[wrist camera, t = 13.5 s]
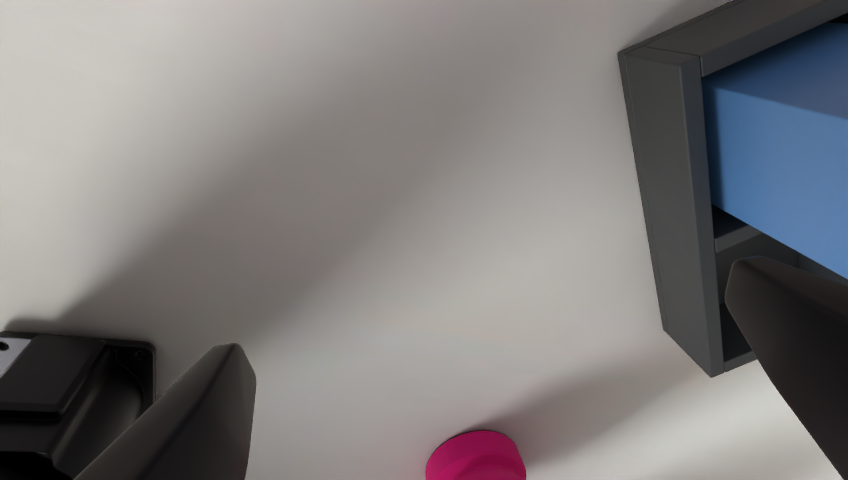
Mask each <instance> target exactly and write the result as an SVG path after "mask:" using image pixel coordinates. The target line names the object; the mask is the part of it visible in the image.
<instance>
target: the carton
mask: <svg viewBox="0 0 848 480" xmlns="http://www.w3.org/2000/svg"><path fill="white" fill-rule="evenodd" d="M701 81H702V94H703V106H704V119H705V132H706V144H707V157H708V170H709V182H710V195H711V204H713V205H715V206H716V207H718V208H720V209H722V210H724V211H725V212H727V213H729V214H731V215H733V216H734V217H736V218H738V219H740V220H742V221H743V222H745V223H747V224H749V225H751V226H752V227H754V228H756V229H758V230H760V231H762V232H763V233H765V234H767V235H769V236H771V237H772V238H774V239H776V240H778V241H780V242H781V243H783V244H785V245H787V246H789V247H790V248H792V249H794V250H796V251H798V252H799V253H801V254H803V255H805V256H807V257H808V258H810V259H812V260H814V261H816V262H817V263H819V264H821V265H823V266H825V267H826V268H828V269H830V270H832V271H834V272H835V273H837V274H839V275H841V276H843V277H844V278H846V279H848V24H844V23H824V24H821V25H819V26H817V27H815V28H812V29H810V30H808V31H806V32H803V33H801V34H799V35H797V36H794V37H792V38H790V39H788V40H785V41H783V42H781V43H779V44H776V45H774V46H772V47H769V48H767V49H765V50H763V51H760V52H758V53H756V54H754V55H751V56H749V57H747V58H745V59H742V60H740V61H738V62H736V63H733V64H731V65H729V66H727V67H724V68H722V69H720V70H718V71H715V72H713V73H711V74H709V75H706V76H704V77H701Z"/></svg>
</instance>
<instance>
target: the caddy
mask: <svg viewBox="0 0 848 480" xmlns="http://www.w3.org/2000/svg"><path fill="white" fill-rule="evenodd" d="M824 23H844V24H848V0H734V1H731V2H729V3H727V4H725V5H723V6H720V7H718V8H716V9H714V10H711V11H709V12H707V13H705V14H703V15H700V16H698V17H696V18H694V19H691V20H689V21H687V22H685V23H682V24H680V25H678V26H676V27H674V28H671V29H669V30H667V31H665V32H662V33H660V34H658V35H656V36H653V37H651V38H649V39H647V40H645V41H642V42H640V43H638V44H636V45H633V46H631V47H629V48H627V49H624V50H622V51H620V52H618V54H617V55H618V61H619V67H620V73H621V79H622V85H623V91H624V97H625V103H626V109H627V115H628V121H629V127H630V133H631V139H632V145H633V151H634V157H635V163H636V169H637V175H638V181H639V187H640V193H641V199H642V205H643V211H644V217H645V223H646V229H647V235H648V241H649V247H650V253H651V259H652V265H653V271H654V277H655V283H656V289H657V295H658V301H659V307H660V313H661V319H662V325H663V330H664V331H665V332H666V333H667V334H668V335H670V337H671V338H672V339H673V340H674V341H675V342H676V343H677V344H678V345H679V346H680V347H681V348H682V349H683V350H684V351H685V352H686V353H687V354H688V355H689V356H690V357H691V358H692V359H693V360H694V361H695V362H696V363H697V364H698V365H699V366H700V367H701V368H702V369H703V370H704V371H705V372H706V373H707V374H708V375H709V376H710V377H711V378H712V377H715V376H717V375H720V374H722V373H724V371H725V372H727V371H730V370H732V369H735V368H737V367H739V366H742V365H744V364H747V363H749V362H751V361H754V360H756V359H757V357H756V356H755V354H754V352H753V350H752V349H751V347H750V345H749V344H748V342H747V340H746V339H745V337H744V335H743V334H742V332H741V330H740V328H739V327H738V325H737V323H736V322H735V320H734V318H733V317H732V315H731V313H730V312H729V310H728V308H727V306H726V303H725V291H726V287H727V283H728V279H729V275H730V270H731V266H732V264H733V263H734V261H735V260H737V259H740V258H745V257H751V256H765V257H768V258H770V259H773V260H776V261H779V262H782V263H785V264H787V265H790V266H793V267H796V268H799V269H802V270H805V271H807V272H810V273H813V274H816V275H819V276H822V277H825V278H827V279H830V280H833V281H836V282H839V283H842V284H844V285H847V286H848V279H846V278H844V277H843V276H841V275H839V274H837V273H835V272H834V271H832V270H830V269H828V268H826V267H825V266H823V265H821V264H819V263H817V262H816V261H814V260H812V259H810V258H808V257H807V256H805V255H803V254H801V253H799V252H798V251H796V250H794V249H792V248H790V247H789V246H787V245H785V244H783V243H781V242H780V241H778V240H776V239H774V238H772V237H771V236H769V235H767V234H765V233H763V232H762V231H760V230H758V229H756V228H754V227H752V226H751V225H749V224H747V223H745V222H743V221H742V220H740V219H738V218H736V217H734V216H733V215H731V214H729V213H727V212H725V211H724V210H722V209H720V208H718V207H716V206H715V205H713V204H711V195H710V182H709V170H708V157H707V144H706V132H705V119H704V106H703V94H702V81H701V77H704V76H706V75H709V74H711V73H713V72H715V71H718V70H720V69H722V68H724V67H727V66H729V65H731V64H733V63H736V62H738V61H740V60H742V59H745V58H747V57H749V56H751V55H754V54H756V53H758V52H760V51H763V50H765V49H767V48H769V47H772V46H774V45H776V44H779V43H781V42H783V41H785V40H788V39H790V38H792V37H794V36H797V35H799V34H801V33H803V32H806V31H808V30H810V29H812V28H815V27H817V26H819V25H821V24H824Z"/></svg>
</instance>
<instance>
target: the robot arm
mask: <svg viewBox="0 0 848 480" xmlns="http://www.w3.org/2000/svg"><path fill="white" fill-rule="evenodd" d="M725 303H726V306H727V308H728V310H729V312H730V313H731V315H732V317H733V318H734V320H735V322H736V323H737V325H738V327H739V328H740V330H741V332H742V334H743V335H744V337H745V339H746V340H747V342H748V344H749V345H750V347H751V349H752V350H753V352H754V354H755V356H756V357H757V359H758V361H759V362H760V364H761V366H762V367H763V369H764V371H765V372H766V374H767V375H768V377H769V378H770V380H771V382H772V383H773V384H774V386H775V387H776V389H777V390H778V392H779V393H780V394H781V396H782V397H783V398H784V400H785V401H786V402H787V404H788V405H789V406H790V408H791V409H792V411H793V412H794V413H795V415H796V416H797V417H798V419H799V420H800V421H801V423H802V424H803V425H804V427H805V428H806V429H807V431H808V432H809V433H810V435H811V436H812V438H813V439H814V440H815V442H816V443H817V444H818V446H819V447H820V448H821V450H822V451H823V452H824V454H825V455H826V456H827V458H828V459H829V460H830V462H831V463H832V465H833V466H834V467H835V469H836V470H837V471H838V473H839V474H840V475H841V477H842V478H843V479H844V480H848V286H847V285H844V284H842V283H839V282H836V281H833V280H830V279H827V278H825V277H822V276H819V275H816V274H813V273H810V272H807V271H805V270H802V269H799V268H796V267H793V266H790V265H787V264H785V263H782V262H779V261H776V260H773V259H770V258H768V257H765V256H751V257H745V258H740V259H737V260H735V261H734V263H733V264H732V266H731V270H730V275H729V279H728V283H727V287H726V291H725ZM3 342H5V343H7V344H8V345H7V344H4V343H3ZM139 351H142V352H145V353H146V354H142V353H140V352H139ZM255 393H256V376H255V373H254V370H253V368H252V367H251V365H250V363H249V361H248V359H247V357H246V355H245V353H244V351H243V349H242V348H241V346H240V345H239V344H237V343H230V344H224V345H218V346H215V347H213V348H212V349H211V350H210V351H209V352H208V353H207V354H205V355H204V356H203V357H202V358H201V359H200V360H199V361H198V362H197V363H196V364H195V365H194V366H193V367H192V368H191V369H190V370H189V371H188V372H186V373H185V374H184V375H183V376H182V377H181V378H180V379H179V380H178V381H177V382H176V383H175V384H174V385H173V386H172V387H171V388H170V389H169V390H168V391H166V392H165V393H164V394H163V395H162V396H161V397H160V398H159V399H158V400H157V401H156V349H155V347H154V346H153V345H152V344H150V343H148V342H143V341H129V340H116V339H102V338H89V337H76V336H62V335H49V334H35V333H22V332H9V331H3V332H0V480H245V475H246V470H247V464H248V457H249V449H250V440H251V430H252V421H253V412H254V402H255Z"/></svg>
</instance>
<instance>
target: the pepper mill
mask: <svg viewBox="0 0 848 480" xmlns="http://www.w3.org/2000/svg"><path fill="white" fill-rule="evenodd" d="M426 480H526V469H525V466H524V464H523V461H522V459H521V456H520V454H519V451H518V449H517V447H516V445H515V443H514V442H513V441H512V440H511V439H510V438H508V437H507V436H505V435H503V434H500V433H498V432H493V431H474V432H469V433H465V434H462V435H459V436H457V437H455V438H452V439H450V440H448V441H447V442H445V443H444V444H443V445H441V446H440V447H439V448H437V449H436V451H435V452H434V453H433V454H432V456H431V457H430V459H429V461H428V463H427V466H426Z"/></svg>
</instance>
